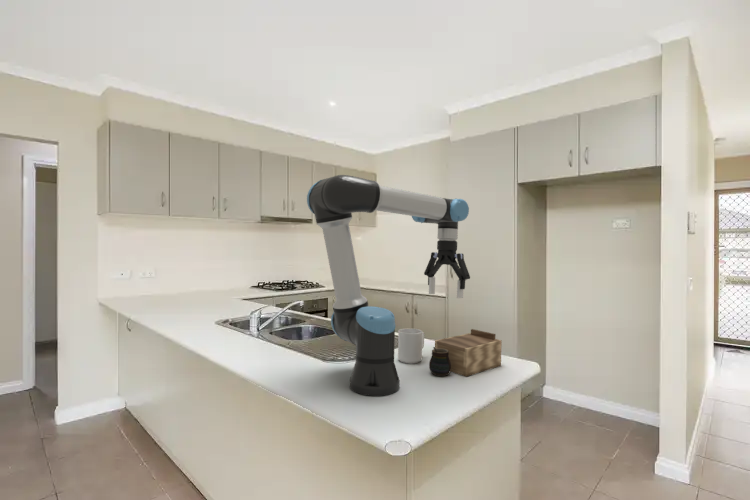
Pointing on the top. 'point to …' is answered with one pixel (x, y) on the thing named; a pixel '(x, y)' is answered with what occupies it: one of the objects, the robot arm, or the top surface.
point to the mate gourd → (440, 362)
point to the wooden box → (474, 357)
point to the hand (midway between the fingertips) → (445, 295)
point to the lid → (468, 340)
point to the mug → (410, 345)
